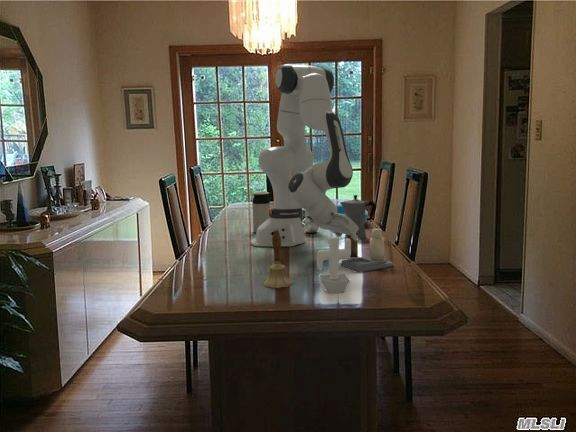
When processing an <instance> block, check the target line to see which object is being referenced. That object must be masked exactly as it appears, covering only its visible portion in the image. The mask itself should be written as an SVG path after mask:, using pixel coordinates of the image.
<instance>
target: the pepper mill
mask: <svg viewBox="0 0 576 432" xmlns="http://www.w3.org/2000/svg"><path fill="white" fill-rule="evenodd" d="M350 237H351V236H350V235H347V236H345V235H344V240H345V239H347V238H348V239H350V240H351V256H350V258H349V259H353V258H359V250H358V249H359V247H358V245H359V243H358V242H359V241H358V240H359V239H357V240H356V241H355V240H352V239H351V238H350Z"/></svg>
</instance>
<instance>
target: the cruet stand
mask: <svg viewBox="0 0 576 432" xmlns="http://www.w3.org/2000/svg"><path fill="white" fill-rule="evenodd" d="M382 231H383V230H382V228H372V231H371V236H372V237H369V257H367V258H366V257H363V256H360V257H359V256H358V257H355V258H348V259H341V262H340V267H341V268H344V269H346V270H349V271H352V272H355V273H360V272H361V273H362V272H368V271H374V270H378V269H384V268H390V267H393V266H394V262H393V261H389V260H387V258H385V237H383V236H382V235H383V234H382Z"/></svg>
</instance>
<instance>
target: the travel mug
mask: <svg viewBox="0 0 576 432" xmlns="http://www.w3.org/2000/svg"><path fill="white" fill-rule="evenodd" d="M252 194H253V198H252V199H251V200H252V227H253V228H252V229H253V232H254V233H256V232H257V229H258V227H259V226H260V225H261V224H262V223H264V222H265V221H266V220H267V219H269V218H270V217H269V213H268V209H269V208H271V199H270V198H269V194H270V192H268V191H255V192H254V191H253V192H252Z"/></svg>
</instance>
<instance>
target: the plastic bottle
mask: <svg viewBox="0 0 576 432" xmlns="http://www.w3.org/2000/svg"><path fill="white" fill-rule="evenodd" d="M304 212H305V213H304V214H305V218H304V227H303V229H304V231H305V233H310V234H313V233H317V232H318V231H319V228H320V227H319V226H318V225H316V224H315V223H314V222H313V221H312V220H310V219H308V218H307V217H306V215H307V213H308V212H307V211H306V210H305V209H304Z"/></svg>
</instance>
